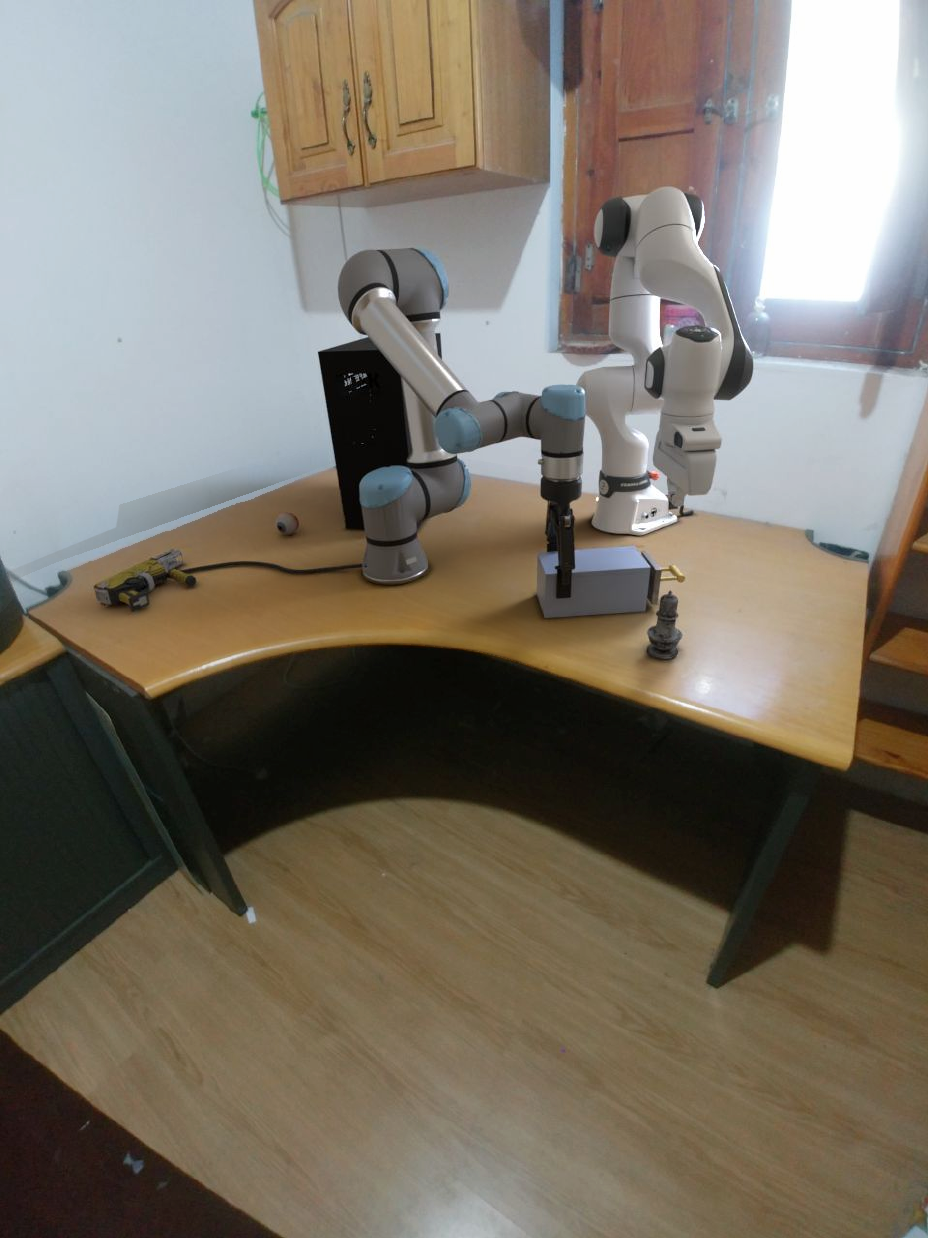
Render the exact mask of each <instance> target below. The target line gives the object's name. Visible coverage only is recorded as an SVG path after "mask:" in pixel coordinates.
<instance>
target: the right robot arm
mask: <svg viewBox="0 0 928 1238" xmlns="http://www.w3.org/2000/svg"><path fill="white" fill-rule="evenodd" d="M594 221H595V222H594V227H593V236H594V240H595V245H596V250H597V251H598V252H599V253H600V255H602V256H605V257H609V258H615V261H614V266H613V270H612V276H611V282H610V292H609V293H610V294H609V312H608V313H609V314H608V337H609V339H610V341H611V343H612V344H613V345H614V346H616V347H617V348H620V349H621V350H623V351H626V352H627V353H629V354H630V355H631V357H632V359H633V363H634V364H631V365H617V366H615V365H614V366H601V367H598V368H593V369H589V370H586V371H583V372H582V374H581V375H580V377H578V379H577V382H576V384H575V385H577V386H580V387H582V388H583V389H584V391H585V410H586V417H588V418H589V419H590V420H591V421H592V422H593V424H594V426H595V427H596V429H597V431H598V434H599V436H600V437H599V438H600V443H601V468H600V470H599V474H598V492H599V493H598V496H597V497H596V498H595V501H597V502H596V507H595V511H594V514H593V517H592V520H591V525H592V526H593V527H594V528H595V529H597V530H599V531H601V532H605V533H611V534H623V535H625V534H626V535H632V536H633V535H634V536H645V535H646V534H650V533H652V532H654V531H657V530H660V529H662V528H665V527H668V526H670V525H672V524H675V523H677V522H678V516H677V515H676V514H675V513H674V512H672V511H670V510H677V509H679V511H678V513H679V515H680V516H682V517H687V516H690V515H694V510H693V509H691V510H688V511H686V512H684V508H685V497H686V496H689V497H690V496H691V497H694V496H706V495H708V494H709V492H710V490H711V489H712V485H713V482H714V477H715V472H716V467H717V460H718V459H717V458H718V457H717V451H716V450H719V449H721V446H722V442H723V438H722V435H721V434H720V431H719V430H718V429H717V426H716V422H715V420H714V417H715V416H714V415H715V403H714V401H732V400H733V399H735V398H736V397H737V396H739V395H740V394H741V393H742V392H743V391H744V390H745V389H746V388H747V387H748V385H749V384H750V383H751V381H752V378H753V374H754V358H753V353H752V351H751V349H750V347H749V344H747V342H746V340H745V339H744V336H743V333H742V331H741V328H740V325H739V322H738V318H737V316H736V312H735V309H734V306H733V303H732V300H731V297H730V294H729V290H728V288H727V287H728V286H727V285H726V282H725V279H724V277H723V274H722V272H721V270H720V268H719V267H718V266H716V265H715V264H714V263H712V262H710V261H709V259H708V258H707V257H706V256H705V255H704V253H703V251H702V250H701V248H700V247H699V244H698V242H699V240H700V238H701V235H702V232H703V228H704V224H705V206H704V202H703V201H702V199H701V196H698V195H695V194H693V193H687V192H683V191H682V190H680V189H679V188H678V187H674V186H661V187H658V188H656V189H654V190H653V191H651V192H649V193H648V194H638V195H632V196H631V195H630V196H626V197H622V196H616V197H612V198H610V199H607V200H605V201H604V202H603V204H602V205H601V206H600V207H599V209H598V213H597V215H596V217H595V220H594ZM661 299H662V300H666V301H671V302H675V303H678V304H682V305H685V306H687V307H690V308H692V309H694V310H695V311H697V312H698V313H699V315H701V316H702V318H703V321H704V324H705V325H687V326H683V327H680V328H678V329H675V331H674V332H673V333H672V335H671V336H672V337H671V339H670V342H668V343H666V344H665V345H663V343H662V339H661V333H660V307H661V306H660V305H661ZM658 414H660V415H659V416H660V417H659V425H658V431H657V433H656V436H655V441H654V446H653V453H652V465H653V467H655V468H656V469H657V470H658V471H659V472H661V473H662V475H664V476H665V477H666V485H667V494H664V493H663V492H661V491H660V490H659V489H658V488H656V487H655V486H654V485H652V483H651V480H653V481H658V479H659V478H660V473H659V472H657V471H654V470H651V471H649V470H648V469H647V466H648V458H649V457H648V456H649V447H650V443H649V440H648V437H646V435H645V434H644V433H643V432H641V431H639V430H638V429H636V428H634V427H631V426H629V425H627V423H626V417H627V416H637V415H638V416H639V415H658Z"/></svg>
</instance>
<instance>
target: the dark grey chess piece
mask: <svg viewBox="0 0 928 1238" xmlns="http://www.w3.org/2000/svg"><path fill="white" fill-rule="evenodd" d="M678 604H679V599H678V597H677V595H675V594H673V591H672V590H671V589H670V590H669V591H668V592H667V593H666V594H663V595H661V597H660V600H659V605H658V607H659V608H658V610H657V611H656V612H655V616H656V617H657V619H656V624H655V625H651V626H650V627H649V628H648V629H647V631H646V634H647V636H648V640H649V642H650V643H649V644H648V645H647V647H646V651H647V653H648V654H649V655H651V656H652V657H654V658H657V659H661V660H669V659H674V658H675V657H677V656H678V655H679V650H678V648H677V646H678V644H679V643H680V641H681V640H682V638H683V633H682V631H681V630H680V629H678V628H677V627H676V621H677V619H678V618H679V613H678V611H677V610H678Z"/></svg>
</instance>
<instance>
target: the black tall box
mask: <svg viewBox="0 0 928 1238" xmlns="http://www.w3.org/2000/svg"><path fill="white" fill-rule="evenodd" d="M435 336H436V344H437V352H438V356H439V357H440V358H441V359H442V360H443V351H442V338H441V336H442V335H441V332H435ZM317 355H318V363H319V368H320V374H321V381H322V386H323V393H324V400H325V407H326V412H327V419H328V425H329V431H330V437H331V445H332V450H333V457H334V463H335V468H336V469H335V470H336V476H337V481H338V482H337V483H338V488H339V494H340V500H341V507H342V513H343V519H344V526H345V529H346V530H347V529H349V530H365V527H364V520H363V514H362V507H361V503H360V490H359V485H360V482H361V480H362V478H363V477H364V476H365V475H367V474H368V473H370V472H372V471H374V470H376V469H379V468H383V467H390V466H404V467H407V468H408V466H407V458H408V456H409V455H410V453H411V451H412V448H411V441H410V435H409V428H408V422H407V415H406V408H405V402H404V395H403V389H402V382H401V376H400V375H399V373H398V372H397V371H396V370H395V368H394V367H393V366H392V365H391V364H390V362H389V361H388V360H387V359H386V358H385V356H384V355H383V354H382V353H381V351H380V350H379V349H378V348H377V347H376V345H375V344H374V343H373V342H372V341H371V339H370V338H369V337H368V336H365V337H363V338H360V339H357V340H353V341H350V342H346V343H343V344H339V345H336V346H332V347H329V348H326V349H322V350H319V351H317ZM424 522H425V520H422V521H419V522H417V523H416V526H417V530H419V528H420V527H421V526H422V524H423V523H424Z"/></svg>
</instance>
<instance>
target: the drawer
mask: <svg viewBox="0 0 928 1238" xmlns="http://www.w3.org/2000/svg"><path fill="white" fill-rule="evenodd" d="M640 554H641V555H642V557H643V558H644V559H645V561H646V562H647V563H648V565H649V566H650V567H651V568H650V576H649V585H648V594H647V601H648V602H649V604H650V605H651V606H656V605H658V603H659V596H660V588H661V582H671V581H677V583H683V582H685V580H686V576H685V575H684V574H683V573H682V571H681V570H679V568H678V567H677V565H675V564H670V565H669V566H668V567H660V565H659V564H658V563H657V561H656V560H655V559H654V558H653V557H652V555H651V554H650V553H649V551H648V550H641V552H640ZM662 572H670V574H671V575H672V576H662Z"/></svg>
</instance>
